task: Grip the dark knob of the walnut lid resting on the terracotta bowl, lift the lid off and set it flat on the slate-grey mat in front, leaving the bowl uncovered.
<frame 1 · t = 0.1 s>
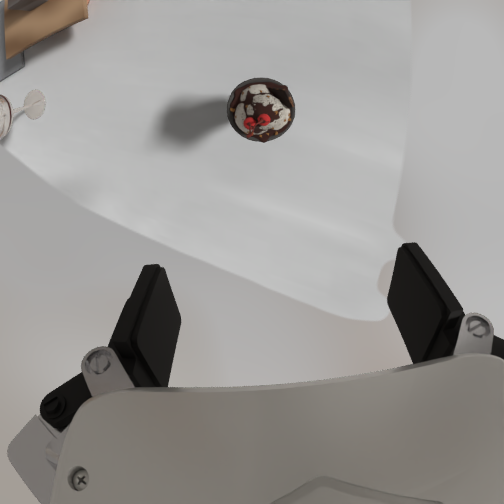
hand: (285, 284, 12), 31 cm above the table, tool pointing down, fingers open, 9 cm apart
wineglass: (35, 104, 33), on the table
sundae: (258, 101, 36), on the table
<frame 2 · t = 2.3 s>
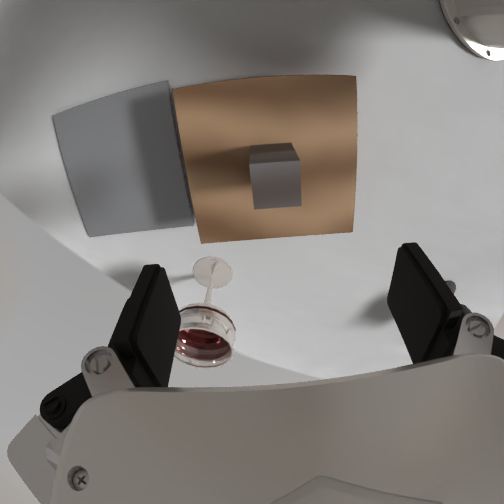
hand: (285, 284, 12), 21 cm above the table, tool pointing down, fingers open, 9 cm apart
cover: (271, 159, 24), point 5 cm above the table, touching bowl
wineglass: (212, 272, 38), on the table
mat: (120, 165, 30), on the table
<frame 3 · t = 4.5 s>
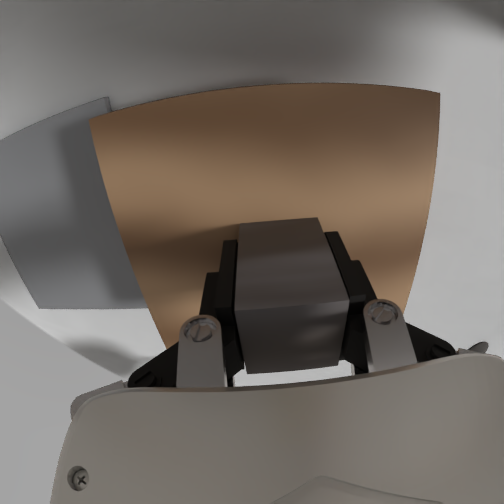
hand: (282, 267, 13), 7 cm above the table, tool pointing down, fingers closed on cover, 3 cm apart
cover: (278, 240, 14), point 5 cm above the table, touching gripper
mat: (58, 225, 19), on the table
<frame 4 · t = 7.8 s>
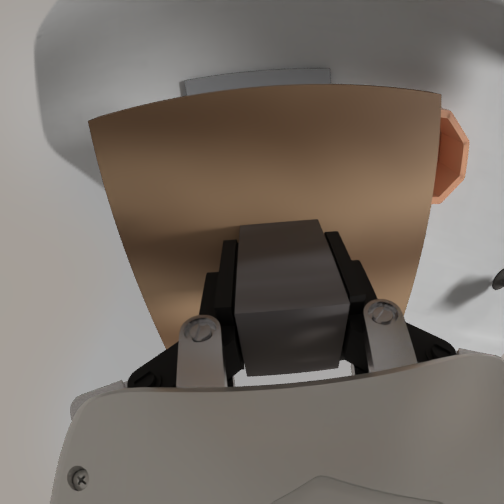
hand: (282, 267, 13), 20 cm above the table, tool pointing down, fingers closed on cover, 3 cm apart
cover: (279, 242, 14), point 19 cm above the table, touching gripper
mat: (264, 146, 29), on the table
sundae: (501, 278, 40), on the table
bowl: (406, 143, 29), on the table
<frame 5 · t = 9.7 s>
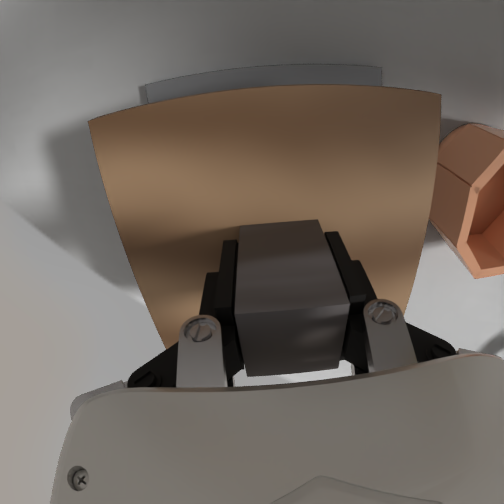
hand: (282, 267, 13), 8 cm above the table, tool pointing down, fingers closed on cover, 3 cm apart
cover: (279, 242, 14), point 7 cm above the table, touching gripper
mat: (274, 188, 19), on the table
bowl: (471, 183, 19), on the table
when the fingers open (3 cm above the table, at t = 11.4 s): cover drops 1 cm, resting on mat.
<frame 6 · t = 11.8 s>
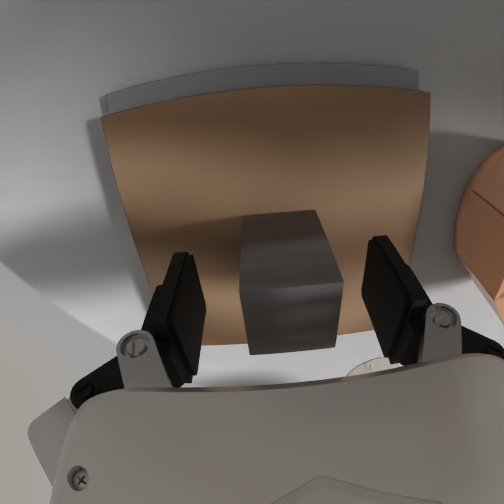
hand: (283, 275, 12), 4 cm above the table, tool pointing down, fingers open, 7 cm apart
cover: (279, 232, 15), point 1 cm above the table, touching mat
wineglass: (372, 372, 24), on the table
mat: (276, 227, 15), on the table
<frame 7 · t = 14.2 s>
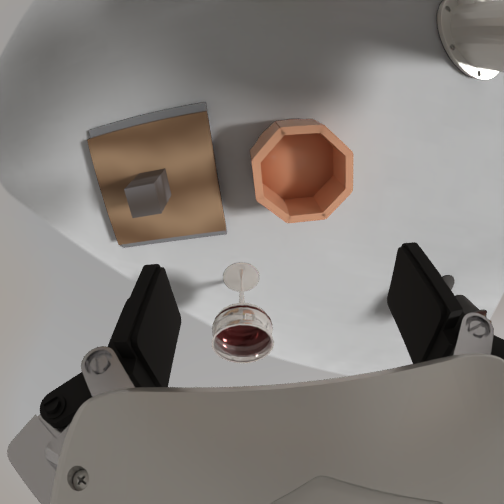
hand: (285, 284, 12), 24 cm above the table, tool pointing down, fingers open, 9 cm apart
cover: (157, 181, 33), point 1 cm above the table, touching mat
wineglass: (241, 276, 41), on the table
mat: (157, 179, 33), on the table
sundae: (442, 286, 45), on the table
bowl: (295, 161, 33), on the table
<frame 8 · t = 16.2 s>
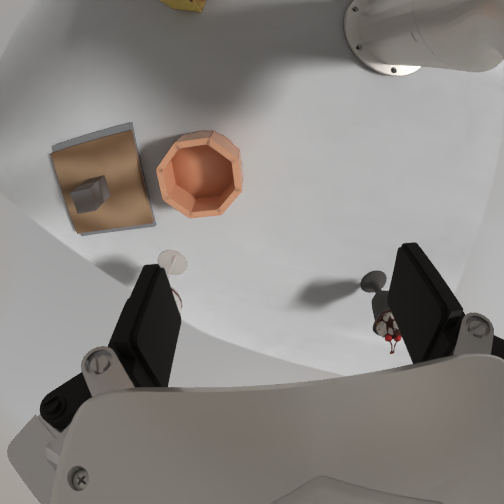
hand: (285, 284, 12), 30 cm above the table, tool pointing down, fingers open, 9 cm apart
cover: (101, 184, 40), point 1 cm above the table, touching mat
wineglass: (172, 262, 48), on the table
mat: (102, 183, 40), on the table
sundae: (373, 281, 51), on the table
bowl: (204, 166, 40), on the table
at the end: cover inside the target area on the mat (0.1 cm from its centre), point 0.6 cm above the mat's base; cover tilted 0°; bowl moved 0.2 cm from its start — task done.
